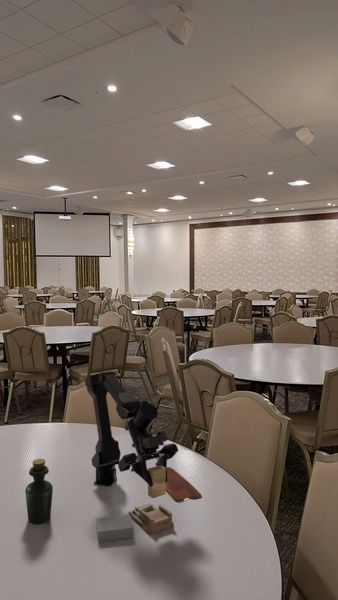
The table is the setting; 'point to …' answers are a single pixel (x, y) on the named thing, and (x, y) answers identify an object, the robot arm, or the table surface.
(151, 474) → the oak block
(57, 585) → the table surface
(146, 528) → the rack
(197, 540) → the table surface
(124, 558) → the table surface
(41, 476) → the potion bottle
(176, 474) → the wooden tablet
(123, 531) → the plinth
